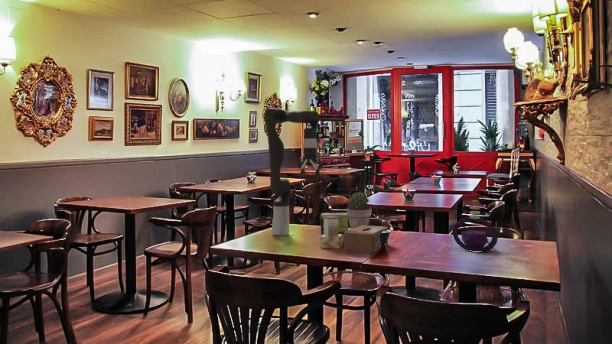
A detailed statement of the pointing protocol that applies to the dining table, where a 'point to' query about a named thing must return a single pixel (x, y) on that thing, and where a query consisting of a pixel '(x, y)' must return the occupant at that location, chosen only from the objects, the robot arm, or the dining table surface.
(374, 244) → the tissue box cover
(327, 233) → the canister
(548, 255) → the dining table surface
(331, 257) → the dining table surface
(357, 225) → the potted plant
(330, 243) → the chevron patterned box
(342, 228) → the tea box
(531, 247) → the dining table surface
